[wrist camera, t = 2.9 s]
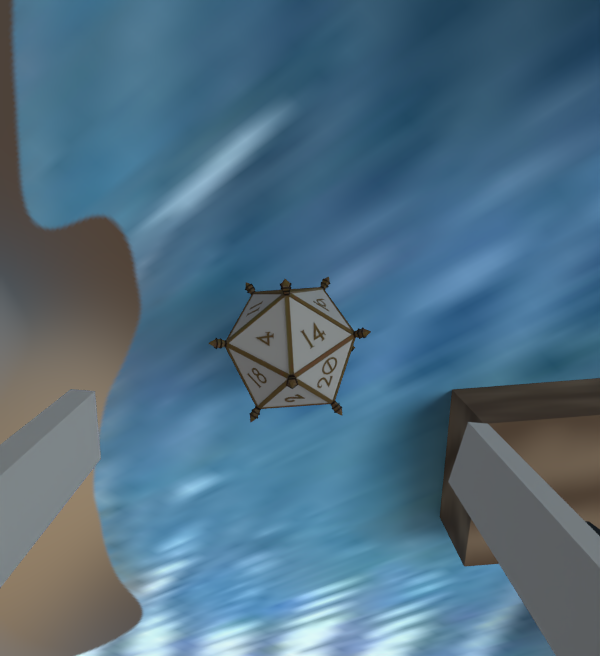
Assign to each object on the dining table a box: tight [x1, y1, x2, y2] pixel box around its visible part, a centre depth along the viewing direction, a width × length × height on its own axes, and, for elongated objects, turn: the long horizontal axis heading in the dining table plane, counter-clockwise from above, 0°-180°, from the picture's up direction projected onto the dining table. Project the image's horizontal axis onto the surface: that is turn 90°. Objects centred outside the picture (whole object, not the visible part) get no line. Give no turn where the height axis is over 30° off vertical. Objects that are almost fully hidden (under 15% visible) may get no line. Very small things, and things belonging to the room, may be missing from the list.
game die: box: [209, 277, 371, 422], centre depth 19 cm, size 9×8×10 cm
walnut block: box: [440, 378, 600, 566], centre depth 27 cm, size 14×14×5 cm
